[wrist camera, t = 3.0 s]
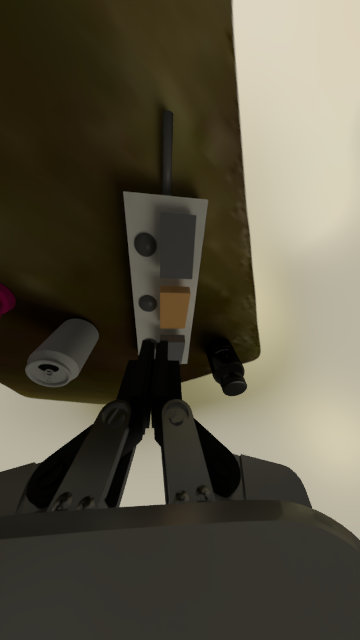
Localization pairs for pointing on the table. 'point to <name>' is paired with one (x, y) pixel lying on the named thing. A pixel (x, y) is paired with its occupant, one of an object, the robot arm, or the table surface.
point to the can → (62, 353)
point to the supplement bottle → (226, 367)
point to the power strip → (146, 249)
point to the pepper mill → (6, 299)
